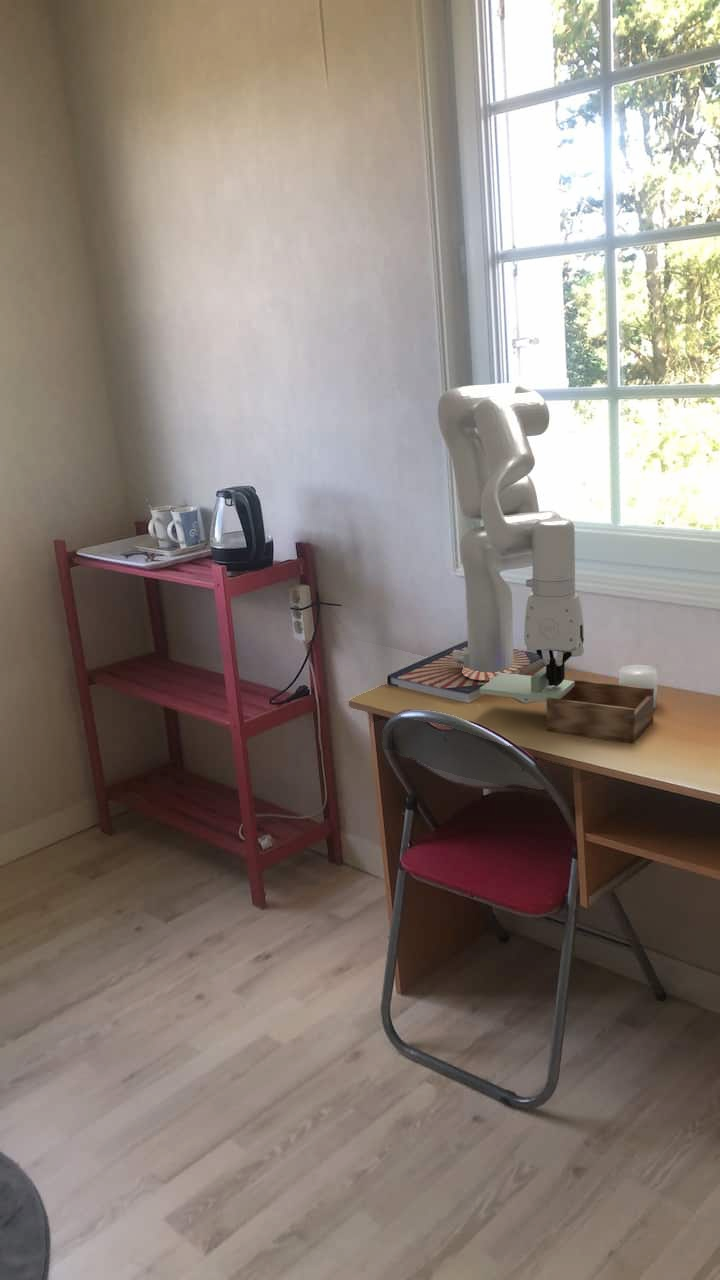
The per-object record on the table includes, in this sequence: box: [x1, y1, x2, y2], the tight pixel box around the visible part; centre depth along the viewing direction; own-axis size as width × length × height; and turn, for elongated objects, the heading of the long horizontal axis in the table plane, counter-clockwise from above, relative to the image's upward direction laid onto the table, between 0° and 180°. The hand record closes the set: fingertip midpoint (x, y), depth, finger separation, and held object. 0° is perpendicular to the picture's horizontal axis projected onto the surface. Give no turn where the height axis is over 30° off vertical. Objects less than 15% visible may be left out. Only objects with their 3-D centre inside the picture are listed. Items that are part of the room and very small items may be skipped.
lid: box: [479, 665, 575, 703], centre depth 205 cm, size 15×10×4 cm, turn 59°
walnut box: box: [546, 678, 654, 744], centre depth 199 cm, size 16×12×6 cm
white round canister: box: [618, 664, 658, 710], centre depth 208 cm, size 7×7×7 cm
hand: (555, 683), depth 202 cm, fingers closed
